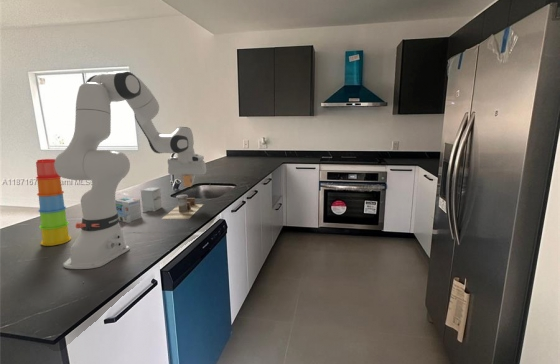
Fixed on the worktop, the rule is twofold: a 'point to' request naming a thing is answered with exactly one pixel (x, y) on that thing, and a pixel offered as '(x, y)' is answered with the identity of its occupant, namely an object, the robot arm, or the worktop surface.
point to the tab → (187, 180)
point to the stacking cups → (51, 204)
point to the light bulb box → (128, 209)
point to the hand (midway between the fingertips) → (188, 182)
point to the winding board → (182, 215)
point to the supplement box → (151, 199)
